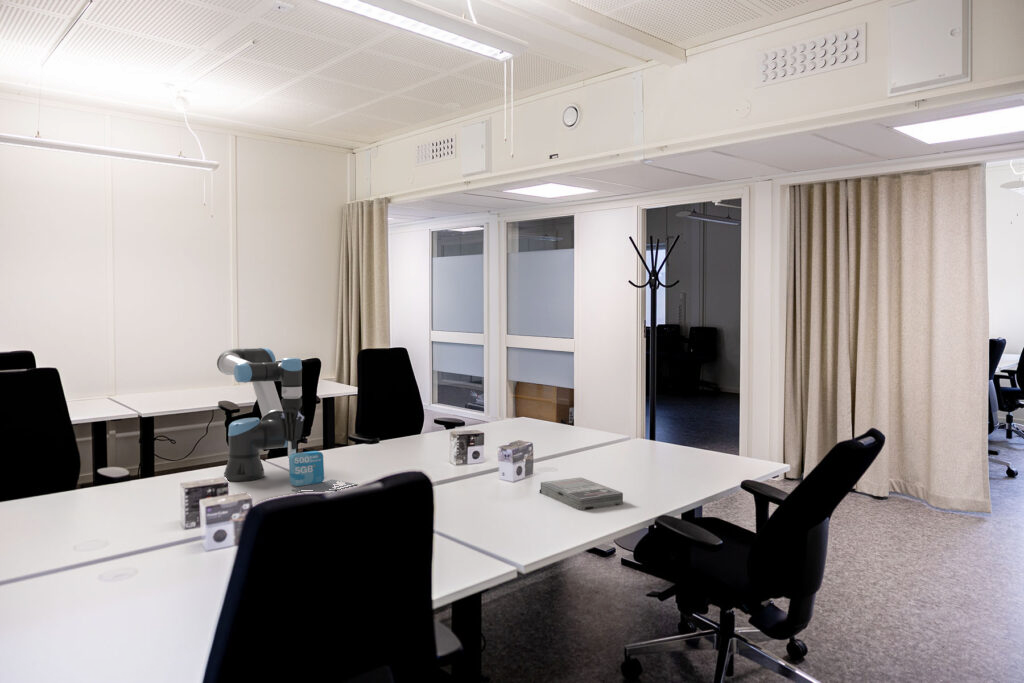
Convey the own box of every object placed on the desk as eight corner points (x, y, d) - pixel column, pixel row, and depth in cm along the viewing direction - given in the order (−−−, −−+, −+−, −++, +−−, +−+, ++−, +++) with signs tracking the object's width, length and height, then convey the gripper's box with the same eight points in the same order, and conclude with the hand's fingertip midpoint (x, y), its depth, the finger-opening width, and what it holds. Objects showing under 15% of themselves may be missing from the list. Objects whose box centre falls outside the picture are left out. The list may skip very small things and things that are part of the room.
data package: (293, 487, 260) (292, 455, 260) (289, 485, 263) (288, 453, 263) (324, 482, 266) (323, 451, 266) (320, 480, 270) (319, 450, 270)
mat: (291, 490, 255) (291, 489, 255) (332, 480, 272) (332, 479, 272) (317, 496, 247) (317, 495, 247) (357, 485, 264) (357, 484, 264)
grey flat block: (580, 488, 264) (580, 477, 264) (623, 505, 240) (624, 493, 240) (539, 494, 255) (539, 482, 255) (580, 512, 231) (580, 499, 231)
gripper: (272, 397, 269) (273, 457, 269) (295, 399, 262) (295, 460, 262) (288, 395, 275) (288, 454, 276) (310, 397, 268) (310, 457, 269)
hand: (292, 457), depth 269 cm, fingers closed
